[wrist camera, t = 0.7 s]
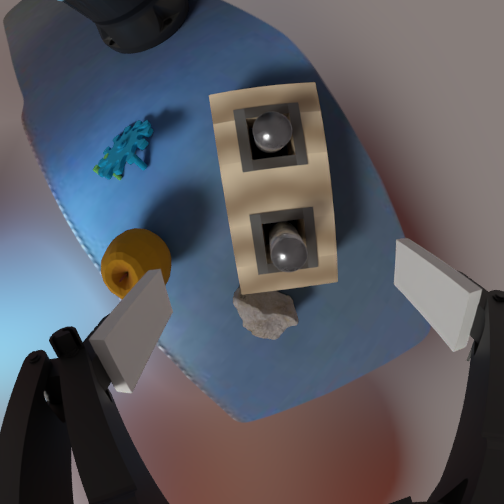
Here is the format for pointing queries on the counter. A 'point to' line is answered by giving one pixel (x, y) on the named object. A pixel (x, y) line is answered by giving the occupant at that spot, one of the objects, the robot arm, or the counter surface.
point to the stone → (265, 312)
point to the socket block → (276, 185)
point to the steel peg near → (272, 132)
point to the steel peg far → (287, 247)
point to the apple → (134, 260)
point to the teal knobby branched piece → (124, 151)
